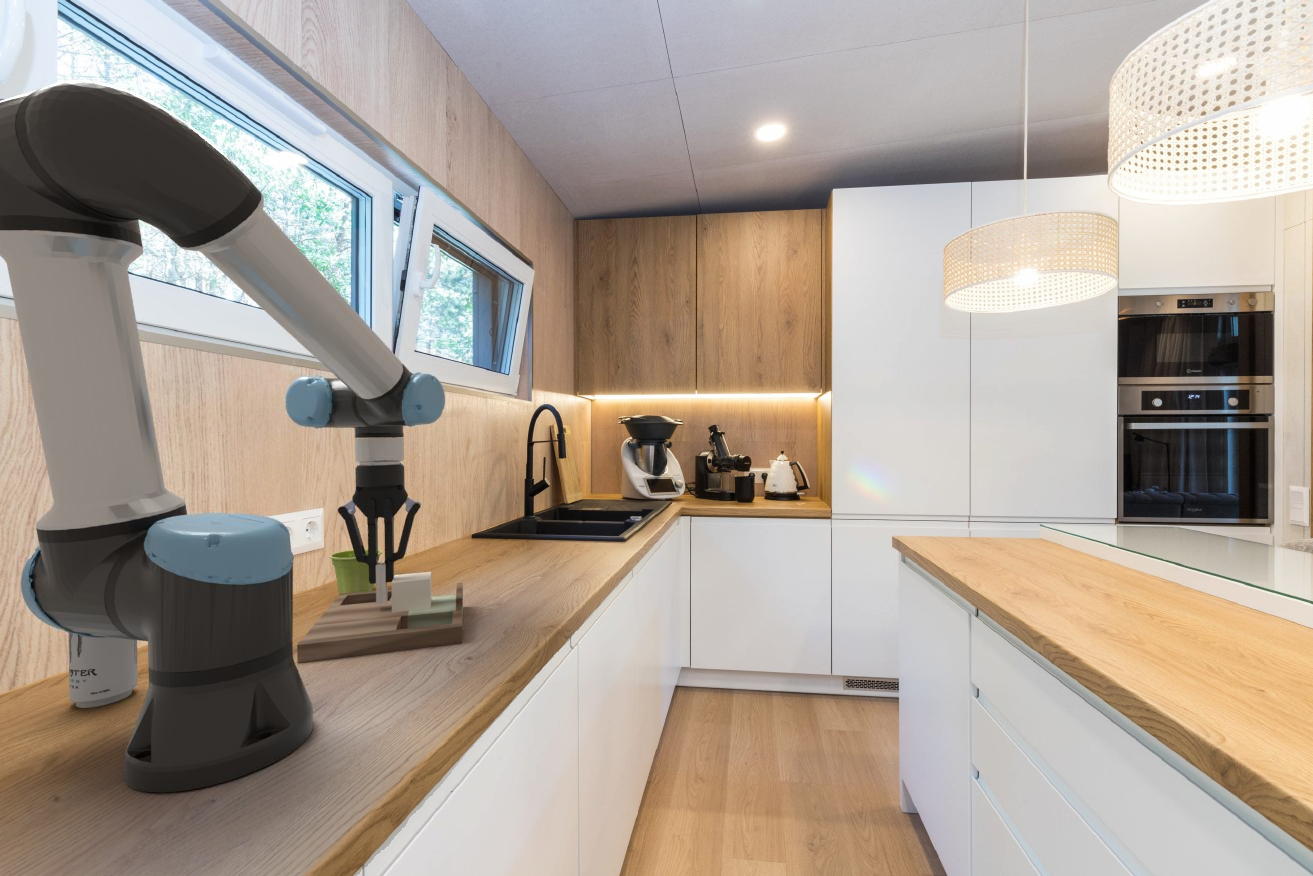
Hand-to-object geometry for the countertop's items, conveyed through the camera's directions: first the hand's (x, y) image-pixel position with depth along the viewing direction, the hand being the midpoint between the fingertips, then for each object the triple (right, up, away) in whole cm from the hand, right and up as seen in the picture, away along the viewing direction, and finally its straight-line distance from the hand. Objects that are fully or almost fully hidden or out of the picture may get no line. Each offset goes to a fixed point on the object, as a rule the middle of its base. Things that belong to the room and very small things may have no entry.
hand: (381, 601), depth 97 cm
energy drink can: (-21, -4, -27) cm, 35 cm away
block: (+5, -1, +2) cm, 5 cm away
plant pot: (-14, -4, +18) cm, 23 cm away
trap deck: (+2, -4, 0) cm, 4 cm away
